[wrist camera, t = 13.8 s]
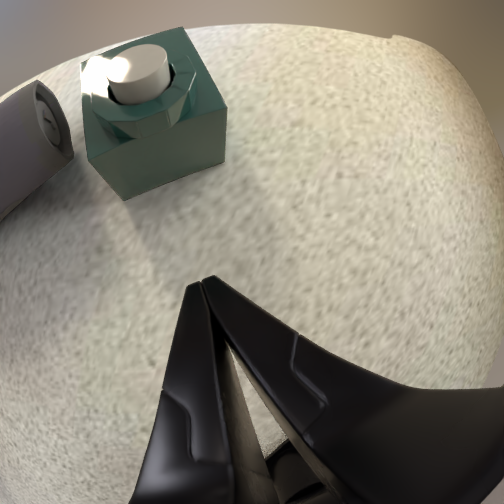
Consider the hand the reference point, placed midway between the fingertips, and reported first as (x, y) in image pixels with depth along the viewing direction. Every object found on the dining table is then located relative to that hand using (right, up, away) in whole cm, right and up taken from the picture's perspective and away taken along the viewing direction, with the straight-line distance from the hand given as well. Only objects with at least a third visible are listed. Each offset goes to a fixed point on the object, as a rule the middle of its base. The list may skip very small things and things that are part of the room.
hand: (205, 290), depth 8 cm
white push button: (-5, +11, +6) cm, 13 cm away
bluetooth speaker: (-25, +6, +11) cm, 28 cm away
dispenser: (-7, +12, +14) cm, 20 cm away
